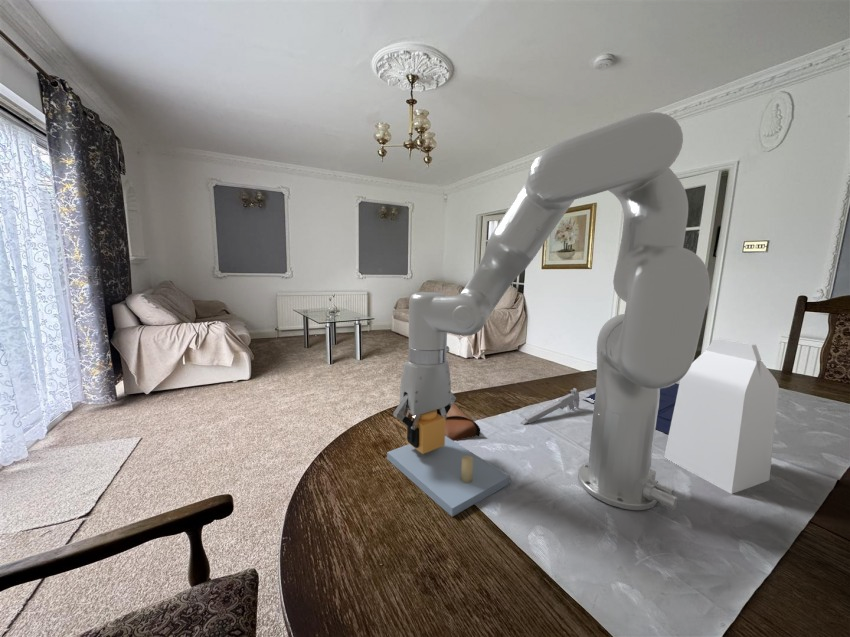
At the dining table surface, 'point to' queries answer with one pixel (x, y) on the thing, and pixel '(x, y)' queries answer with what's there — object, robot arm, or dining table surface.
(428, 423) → the cube with ball knob
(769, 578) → the dining table surface
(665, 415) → the folded navy cloth
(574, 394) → the caliper
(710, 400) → the milk
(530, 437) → the dining table surface
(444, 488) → the board
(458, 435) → the sunglasses case
